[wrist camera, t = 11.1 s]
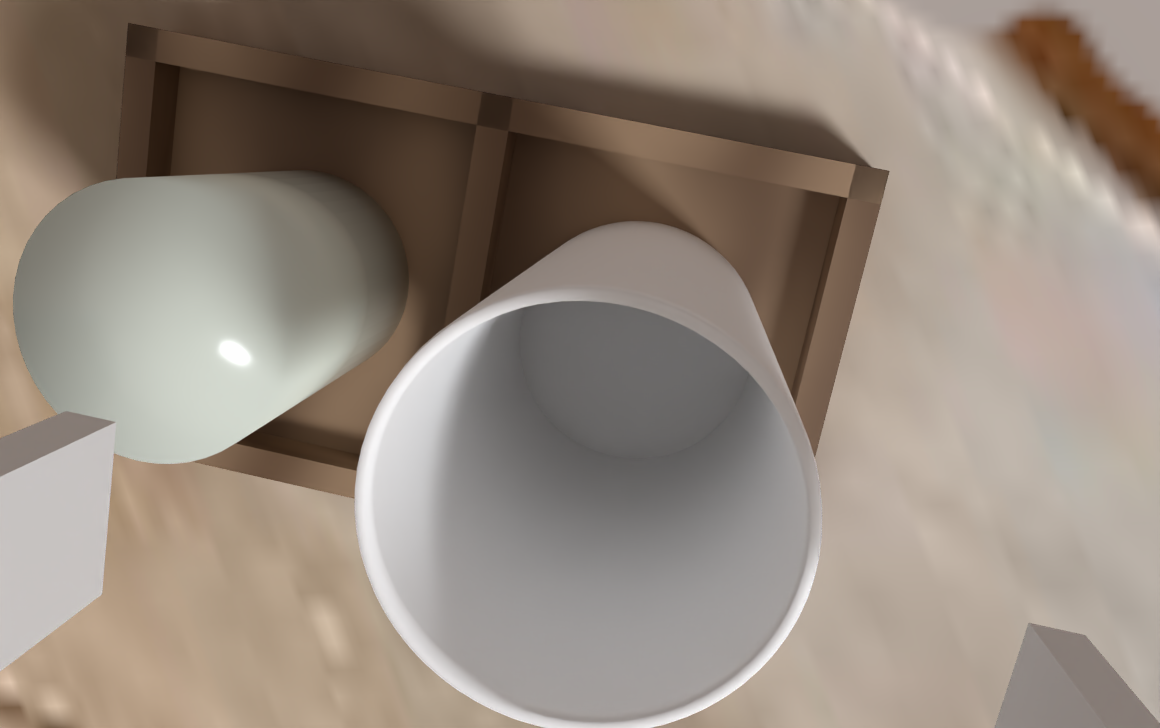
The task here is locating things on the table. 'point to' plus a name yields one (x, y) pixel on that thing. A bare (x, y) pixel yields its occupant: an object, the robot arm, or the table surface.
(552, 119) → the caddy
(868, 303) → the table surface
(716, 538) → the cup
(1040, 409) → the table surface
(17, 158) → the table surface
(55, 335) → the pale green rounded cylinder
